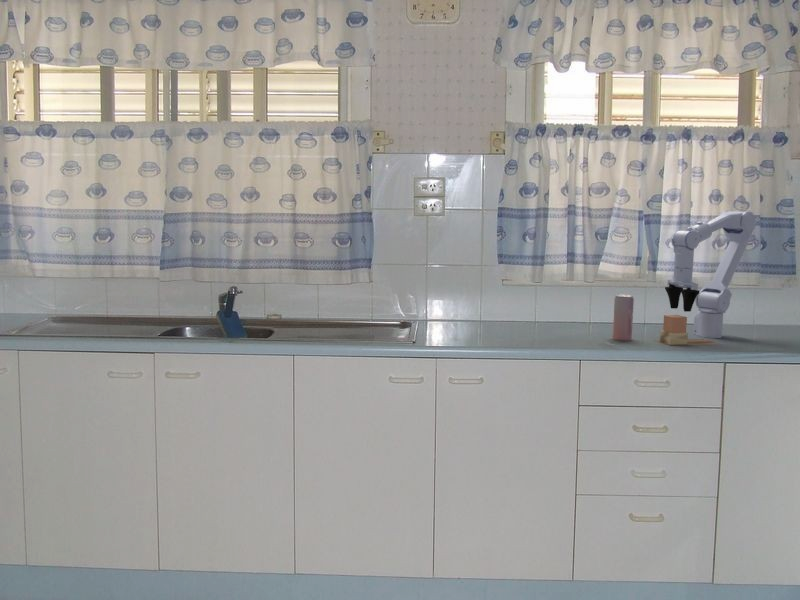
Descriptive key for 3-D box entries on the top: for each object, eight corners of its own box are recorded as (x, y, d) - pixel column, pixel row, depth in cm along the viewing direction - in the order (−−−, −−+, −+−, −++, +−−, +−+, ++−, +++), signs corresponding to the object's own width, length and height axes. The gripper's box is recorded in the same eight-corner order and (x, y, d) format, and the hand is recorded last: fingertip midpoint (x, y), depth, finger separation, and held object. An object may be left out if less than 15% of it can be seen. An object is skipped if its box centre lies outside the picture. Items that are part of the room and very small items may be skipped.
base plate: (653, 342, 267) (653, 340, 267) (703, 341, 271) (703, 338, 271) (670, 348, 257) (670, 345, 257) (721, 346, 262) (721, 344, 261)
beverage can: (617, 339, 273) (619, 294, 271) (634, 341, 269) (637, 295, 267) (609, 341, 268) (611, 295, 266) (626, 343, 264) (629, 297, 263)
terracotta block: (663, 330, 264) (664, 315, 264) (677, 330, 266) (678, 314, 265) (671, 333, 260) (672, 317, 259) (686, 332, 261) (686, 317, 260)
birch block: (659, 341, 265) (660, 330, 265) (676, 340, 267) (677, 330, 266) (670, 344, 259) (670, 333, 259) (687, 344, 261) (687, 333, 260)
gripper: (660, 266, 273) (657, 307, 275) (685, 269, 259) (682, 312, 261) (679, 266, 275) (676, 307, 277) (705, 270, 261) (702, 312, 263)
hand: (680, 309), depth 269 cm, fingers open, 7 cm apart
